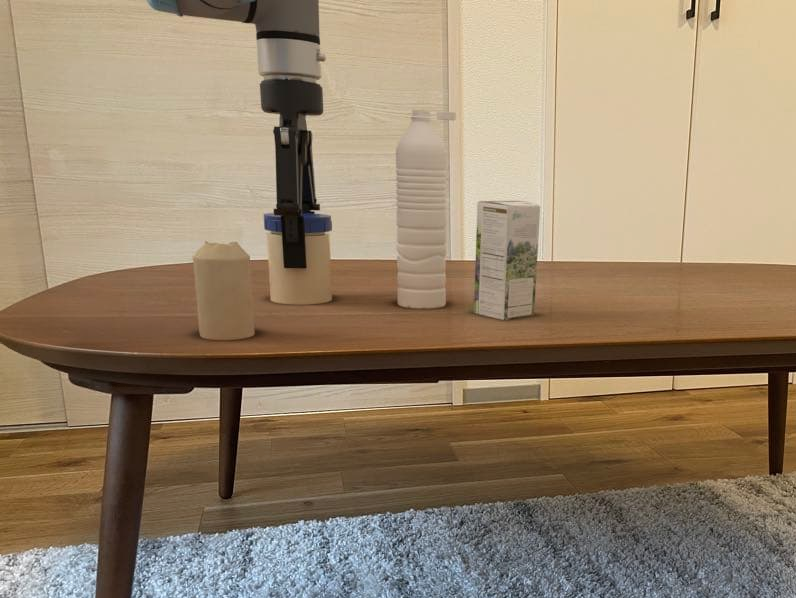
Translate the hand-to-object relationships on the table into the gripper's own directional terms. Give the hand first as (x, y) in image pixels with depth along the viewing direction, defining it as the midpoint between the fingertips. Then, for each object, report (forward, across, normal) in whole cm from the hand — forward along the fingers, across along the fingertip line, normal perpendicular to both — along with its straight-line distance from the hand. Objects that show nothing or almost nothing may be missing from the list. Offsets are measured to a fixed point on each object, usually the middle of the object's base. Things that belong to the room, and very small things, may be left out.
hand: (301, 263), depth 104 cm
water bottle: (+5, -1, -17) cm, 18 cm away
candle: (+5, -23, +4) cm, 24 cm away
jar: (+5, 0, 0) cm, 5 cm away
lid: (-6, 0, 0) cm, 6 cm away
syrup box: (+5, -8, -27) cm, 28 cm away
